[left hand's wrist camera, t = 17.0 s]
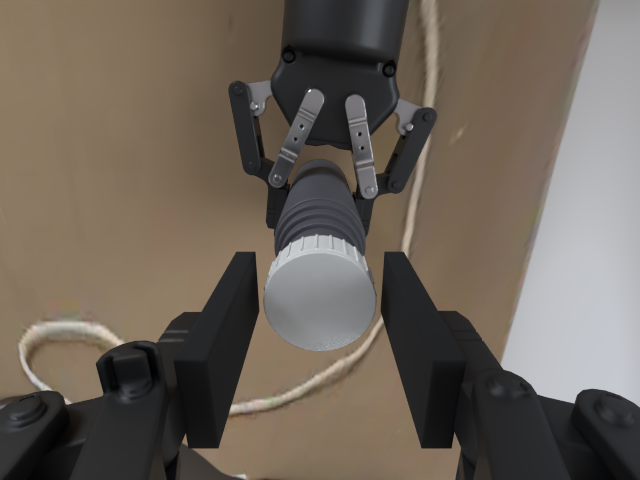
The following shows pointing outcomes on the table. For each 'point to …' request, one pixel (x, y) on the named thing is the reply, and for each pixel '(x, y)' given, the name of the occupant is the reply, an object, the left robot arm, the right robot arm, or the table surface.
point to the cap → (319, 293)
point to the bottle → (319, 208)
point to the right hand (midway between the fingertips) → (316, 237)
